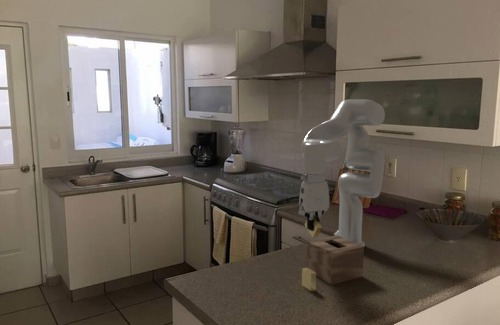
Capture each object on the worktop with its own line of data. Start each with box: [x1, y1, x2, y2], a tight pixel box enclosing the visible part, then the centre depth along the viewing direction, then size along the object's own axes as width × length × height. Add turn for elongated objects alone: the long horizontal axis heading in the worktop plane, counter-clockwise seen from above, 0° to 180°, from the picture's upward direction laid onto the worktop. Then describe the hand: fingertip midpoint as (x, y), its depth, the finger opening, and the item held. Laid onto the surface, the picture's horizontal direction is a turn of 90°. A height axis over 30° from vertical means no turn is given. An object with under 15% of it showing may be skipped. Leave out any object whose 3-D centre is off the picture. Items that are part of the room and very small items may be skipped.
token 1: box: [304, 214, 323, 239], centre depth 147 cm, size 5×2×6 cm
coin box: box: [306, 235, 365, 286], centre depth 149 cm, size 14×14×11 cm
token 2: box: [301, 266, 317, 292], centre depth 138 cm, size 5×2×6 cm, turn 28°
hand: (313, 229), depth 147 cm, fingers closed on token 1, 1 cm apart
